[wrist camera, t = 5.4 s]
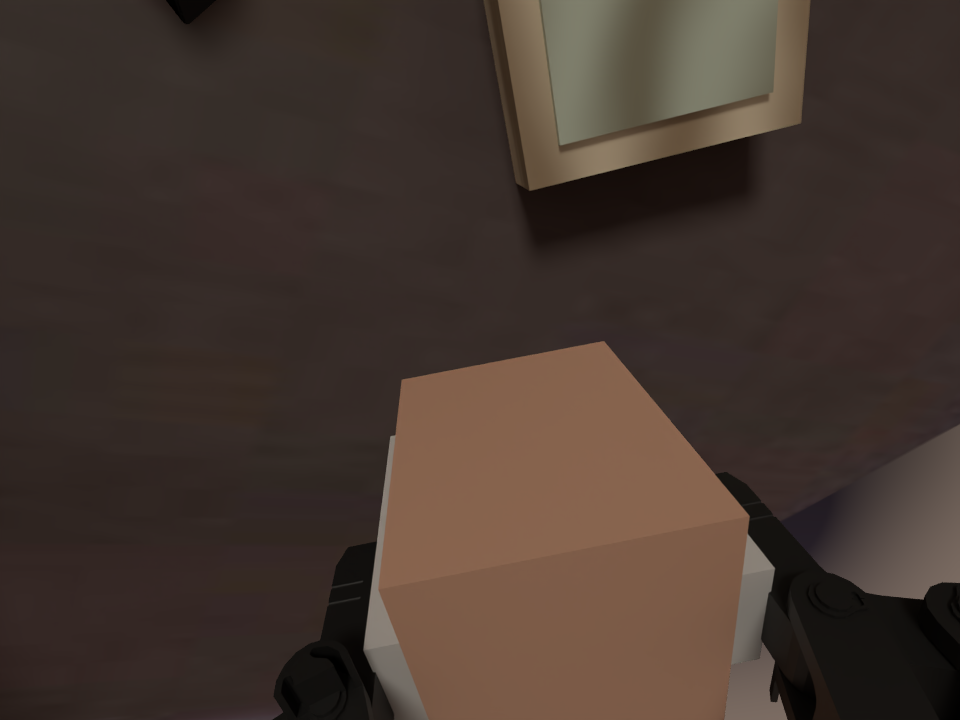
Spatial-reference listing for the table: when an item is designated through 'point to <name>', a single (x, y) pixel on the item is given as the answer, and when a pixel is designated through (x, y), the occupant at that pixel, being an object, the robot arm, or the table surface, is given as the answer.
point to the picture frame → (641, 78)
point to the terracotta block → (557, 547)
